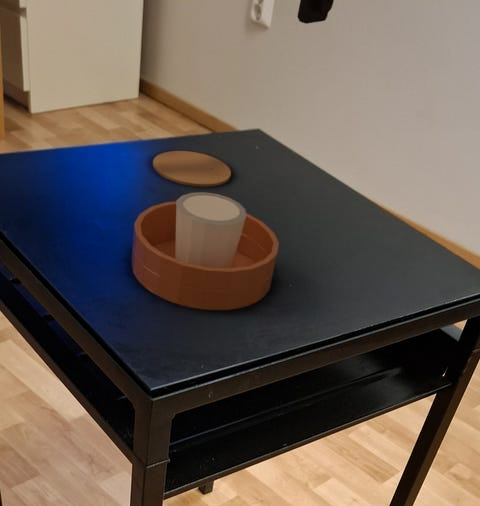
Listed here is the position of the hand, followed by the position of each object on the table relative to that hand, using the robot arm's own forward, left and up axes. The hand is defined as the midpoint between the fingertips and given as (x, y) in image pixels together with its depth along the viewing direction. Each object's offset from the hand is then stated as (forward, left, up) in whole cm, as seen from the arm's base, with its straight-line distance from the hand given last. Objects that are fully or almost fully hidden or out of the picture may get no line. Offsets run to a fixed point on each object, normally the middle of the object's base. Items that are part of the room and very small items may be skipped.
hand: (260, 2), depth 57 cm
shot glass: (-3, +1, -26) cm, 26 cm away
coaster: (-22, +18, -26) cm, 39 cm away
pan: (-3, +1, -26) cm, 26 cm away
